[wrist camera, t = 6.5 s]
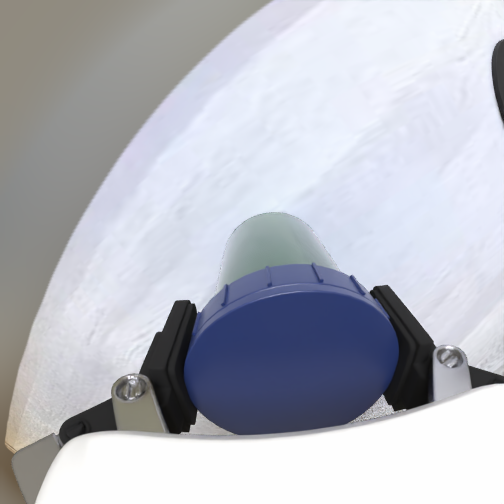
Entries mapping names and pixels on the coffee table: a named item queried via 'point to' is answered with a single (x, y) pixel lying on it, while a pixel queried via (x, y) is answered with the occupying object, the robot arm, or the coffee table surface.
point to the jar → (270, 247)
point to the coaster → (499, 74)
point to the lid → (289, 351)
